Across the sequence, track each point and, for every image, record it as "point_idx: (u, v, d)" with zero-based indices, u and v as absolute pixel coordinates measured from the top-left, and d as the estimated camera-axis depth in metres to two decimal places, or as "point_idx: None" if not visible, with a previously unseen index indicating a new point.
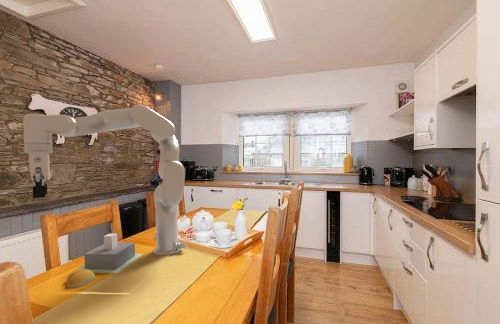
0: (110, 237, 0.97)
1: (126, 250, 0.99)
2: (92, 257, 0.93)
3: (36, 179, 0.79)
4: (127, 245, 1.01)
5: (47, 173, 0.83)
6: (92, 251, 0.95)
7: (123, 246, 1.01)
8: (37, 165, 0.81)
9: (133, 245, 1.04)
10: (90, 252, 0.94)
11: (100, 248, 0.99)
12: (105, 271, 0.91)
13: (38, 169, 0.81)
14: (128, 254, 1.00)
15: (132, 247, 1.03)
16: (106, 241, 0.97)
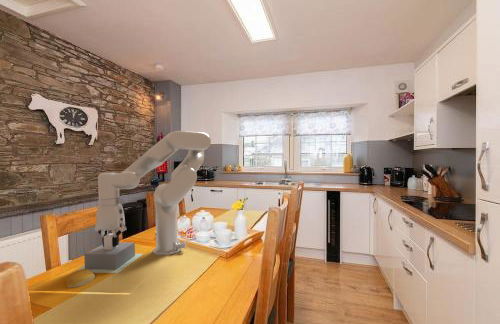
0: (110, 237, 0.97)
1: (126, 250, 0.99)
2: (92, 257, 0.93)
3: (121, 231, 0.98)
4: (127, 245, 1.01)
5: (124, 221, 1.01)
6: (92, 251, 0.95)
7: (123, 246, 1.01)
8: (121, 216, 0.98)
9: (133, 245, 1.04)
10: (90, 252, 0.94)
11: (100, 248, 0.99)
12: (105, 271, 0.91)
13: (122, 222, 0.98)
14: (128, 254, 1.00)
15: (132, 247, 1.03)
16: (106, 241, 0.97)
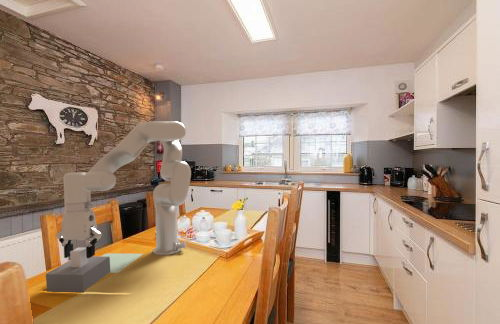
0: (78, 253, 0.82)
1: (98, 267, 0.84)
2: (55, 277, 0.78)
3: (97, 239, 0.83)
4: (100, 261, 0.86)
5: None
6: (56, 270, 0.80)
7: (95, 262, 0.86)
8: (91, 224, 0.83)
9: (107, 260, 0.89)
10: (53, 271, 0.79)
11: (66, 265, 0.84)
12: None
13: (94, 228, 0.84)
14: (101, 271, 0.85)
15: (106, 262, 0.88)
16: (72, 257, 0.82)
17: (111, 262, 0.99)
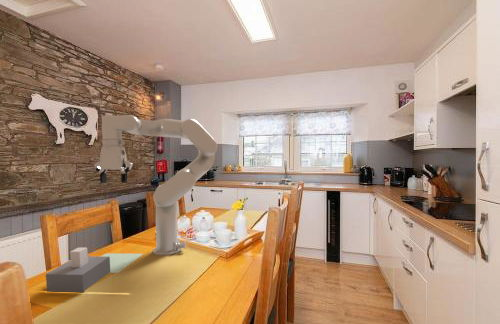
0: (78, 253, 0.82)
1: (98, 267, 0.84)
2: (55, 277, 0.78)
3: (130, 167, 1.04)
4: (100, 261, 0.86)
5: (126, 163, 1.07)
6: (56, 270, 0.80)
7: (95, 262, 0.86)
8: (123, 157, 1.04)
9: (107, 260, 0.89)
10: (53, 271, 0.79)
11: (66, 265, 0.84)
12: None
13: (125, 160, 1.04)
14: (101, 271, 0.85)
15: (106, 262, 0.88)
16: (72, 257, 0.82)
17: (111, 262, 0.99)
